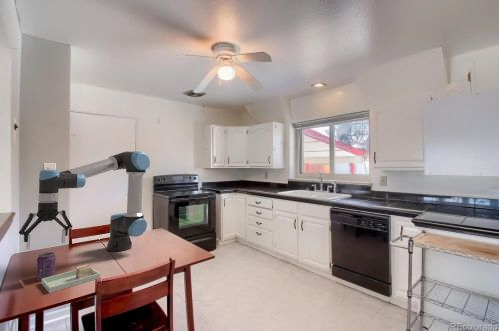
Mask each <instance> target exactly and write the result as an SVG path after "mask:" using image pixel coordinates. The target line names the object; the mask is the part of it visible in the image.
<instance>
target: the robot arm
mask: <svg viewBox="0 0 499 331" xmlns="http://www.w3.org/2000/svg"><path fill="white" fill-rule="evenodd" d="M150 162H151V161H150V157H149V156H148V155H147V153H145V152H143V151H123V152H120V153H117V154H114V155H111V156H108V158H105V159H102V160H98V161H94V162H91V163H88V164H84V165H80V166H77V167H73V168H71V169H70V168H69V169H67V170H63V171H60V170H58V169H42V170H40V171H39V176H38V203H37V212H35V213H33V212H29V213H28V217H27V219H26V220H25V221H24V224H23V225H22V227H21V228H20V230H19V231H18V234H19V235H21V236H23V242H24V243H26V247H25V248H26V249H27V250H30V249H31V234H30V233H31V232H32V231H33V230H34V229H35V228H36V227H37V226H38V225H39V224H41V223H42V222H44V223H45V222H50V221H51V222H52V221H55V222H56V223H57V224H58V225H60V226H61V227H62V229H61V243H62V244H65V243H66V237H68V234H69V229H72V228H73V224H72V223H71V221H70V220H69V218H68V216H67V214H66V210H64V209H61V210H58V209H59V202H58V201H59V190H60V189H61V190H62V189H79V188H80V189H81V188H84V187H85V185H86V184H87V179H88V178H91V177H94V176H98V175H100V174H105V173H107V172H110V171H117V170H125V173H126V174H127V176H128V177H127V180H128V181H127V201H126V212H123V213H122V212H121V213H114V214H112V215H110V220H109V221H110V222H109V224H110V225H109V229H110V230H109V238H108V242H107V244H106V251H108V252H113V253H114V252H115V253H116V252H118V253H119V252H124V251H127V250H130V249H132V248H133V243H132V240H131V237H132V238H133V237H135V238H136V237H137V238H138V237H141V236H142V235H143V234H144V233H145V232H146V230H147V228H148V222H147V220H146V219H144V216H145V214H144V213H143V212H142V206H143V186H144V185H143V182H144V181H143V180H144V175H145V174H146V173H147V172H146V171H147V169H148V168H149V166H150V164H151V163H150ZM58 215H60V216H61V217H62V218H63V220H64V222H65V223H66V224H64V222H63V221H61V220H60V219H59V218H58V217H57V216H58ZM35 217H37V219H36V220H35V221H34V222H33V223H32V224H31V225H30V223H31V222H32V221H33V219H34V218H35ZM131 247H132V248H131Z"/></svg>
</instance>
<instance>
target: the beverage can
mask: <svg viewBox="0 0 499 331" xmlns="http://www.w3.org/2000/svg"><path fill="white" fill-rule="evenodd" d="M56 260H57V257H56V255H55V252H54V251H51V252H50V251H49V252H42V253H40V254H39V255H38V257H37V259H36V281H38V282H41V280H42V279H43V278H46V277H50V276H54V275H56V265H57V264H56Z"/></svg>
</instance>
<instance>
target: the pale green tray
mask: <svg viewBox="0 0 499 331" xmlns="http://www.w3.org/2000/svg"><path fill="white" fill-rule="evenodd" d="M98 277H100V278H101V273H100V272H99V271H97V270H96V269H95V268H93V267H92V269H91V276H88V277H84V278H81V279H77V278H76V269H74V270H71V271H66V272H63V273H59V274H55V275H54V276H50V277H46V278H43V279H42V280H41V281H40V282H41V285H42V287H44V288H45V290H46V291H47V292H48V294H52V293H54V292H58V291H61V290H65V289H68V288H71V287H74V286H78V285H82V284H85V283H89V282H91V281H95V279H96V278H98ZM96 280H97V279H96Z"/></svg>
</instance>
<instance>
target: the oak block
mask: <svg viewBox="0 0 499 331" xmlns="http://www.w3.org/2000/svg"><path fill="white" fill-rule="evenodd" d="M92 268H93V267H92V266H91V265H89V264H88V263H87V264H83V265H80V266H77V267H75V270H76V278H77V279H81V278H84V277H88V276H91V269H92Z"/></svg>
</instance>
